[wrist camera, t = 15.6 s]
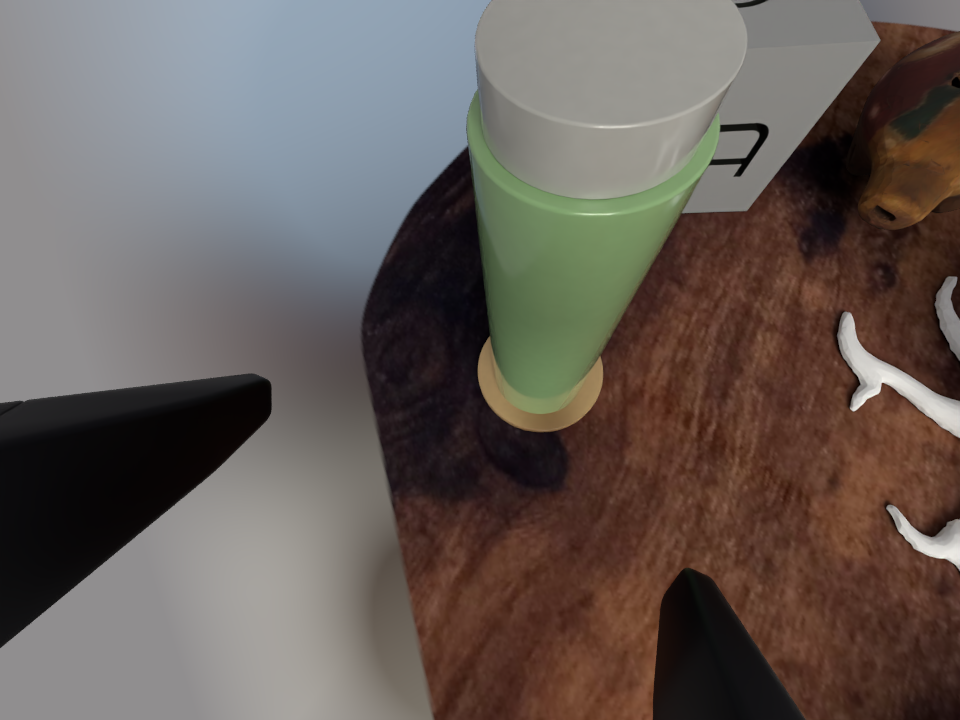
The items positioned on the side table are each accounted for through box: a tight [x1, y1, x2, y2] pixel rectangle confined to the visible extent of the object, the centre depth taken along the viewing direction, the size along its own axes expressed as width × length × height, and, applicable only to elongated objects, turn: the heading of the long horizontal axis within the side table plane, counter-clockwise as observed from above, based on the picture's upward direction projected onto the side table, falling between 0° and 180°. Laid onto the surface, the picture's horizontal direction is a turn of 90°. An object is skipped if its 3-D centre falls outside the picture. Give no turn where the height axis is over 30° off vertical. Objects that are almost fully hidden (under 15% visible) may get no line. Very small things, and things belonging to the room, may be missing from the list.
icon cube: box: [682, 0, 881, 213], centre depth 23 cm, size 10×10×10 cm
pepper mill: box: [466, 0, 748, 414], centre depth 15 cm, size 5×5×17 cm
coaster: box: [478, 337, 603, 432], centre depth 23 cm, size 7×7×1 cm
